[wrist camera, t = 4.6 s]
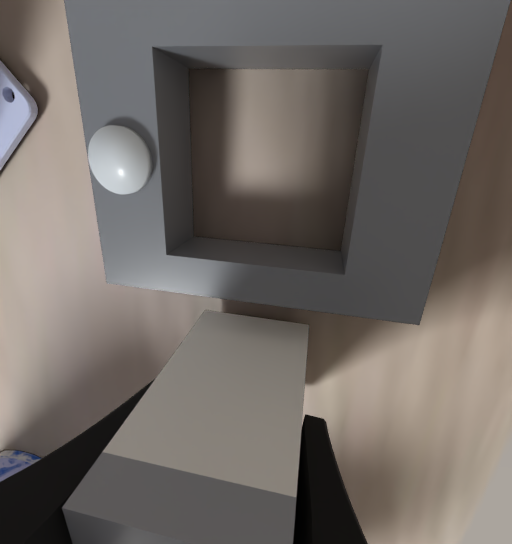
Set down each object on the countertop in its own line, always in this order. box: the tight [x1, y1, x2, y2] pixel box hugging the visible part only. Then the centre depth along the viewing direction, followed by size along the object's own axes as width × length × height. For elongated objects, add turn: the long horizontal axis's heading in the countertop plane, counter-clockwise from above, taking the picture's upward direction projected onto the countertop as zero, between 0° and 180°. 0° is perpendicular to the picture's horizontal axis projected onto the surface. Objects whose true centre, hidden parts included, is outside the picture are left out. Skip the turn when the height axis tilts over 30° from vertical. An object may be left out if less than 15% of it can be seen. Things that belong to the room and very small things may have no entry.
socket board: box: [64, 0, 511, 325], centre depth 9 cm, size 16×11×3 cm
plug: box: [62, 310, 309, 544], centre depth 10 cm, size 4×4×8 cm
